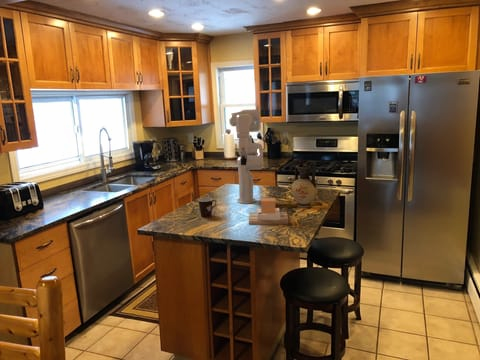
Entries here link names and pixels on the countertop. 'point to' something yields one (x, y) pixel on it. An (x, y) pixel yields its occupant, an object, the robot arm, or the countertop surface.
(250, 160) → the robot arm
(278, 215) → the socket
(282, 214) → the board
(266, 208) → the orange block
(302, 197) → the amphora
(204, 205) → the coffee mug
